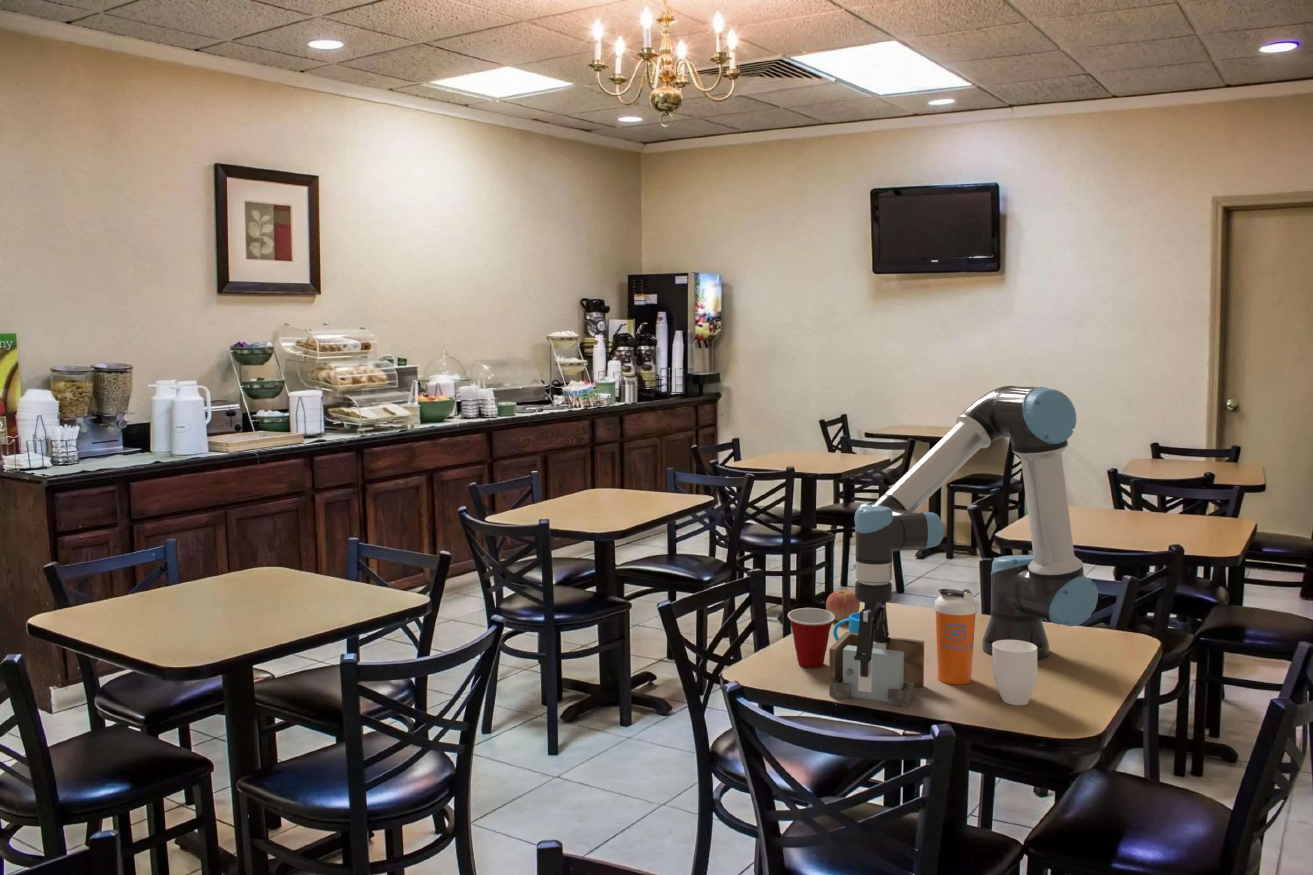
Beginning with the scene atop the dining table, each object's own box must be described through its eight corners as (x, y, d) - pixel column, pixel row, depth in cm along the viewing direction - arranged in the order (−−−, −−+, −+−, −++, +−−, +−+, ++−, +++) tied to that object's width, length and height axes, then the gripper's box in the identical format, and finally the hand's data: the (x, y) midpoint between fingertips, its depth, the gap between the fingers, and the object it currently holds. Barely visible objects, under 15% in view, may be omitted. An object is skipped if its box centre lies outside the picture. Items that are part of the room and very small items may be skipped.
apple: (859, 625, 277) (860, 595, 276) (825, 624, 278) (825, 594, 278) (859, 616, 285) (859, 587, 285) (826, 615, 287) (826, 586, 286)
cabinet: (923, 685, 229) (924, 640, 228) (910, 707, 216) (910, 659, 215) (845, 675, 236) (845, 632, 235) (827, 696, 223) (828, 649, 222)
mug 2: (1042, 708, 214) (1042, 651, 213) (997, 709, 215) (997, 651, 214) (1028, 689, 226) (1027, 634, 224) (985, 689, 226) (985, 635, 225)
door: (903, 698, 222) (903, 651, 221) (898, 704, 218) (899, 657, 217) (846, 690, 227) (847, 645, 226) (841, 697, 223) (841, 650, 222)
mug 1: (883, 646, 258) (884, 613, 258) (882, 655, 251) (882, 622, 250) (834, 643, 261) (834, 610, 261) (831, 652, 253) (831, 619, 253)
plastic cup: (790, 672, 239) (790, 620, 238) (784, 657, 250) (784, 607, 249) (838, 671, 239) (838, 619, 238) (830, 657, 250) (831, 607, 249)
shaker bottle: (929, 672, 237) (930, 585, 236) (969, 672, 237) (971, 585, 235) (938, 686, 229) (940, 595, 227) (980, 686, 228) (982, 595, 226)
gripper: (869, 567, 233) (868, 662, 235) (840, 592, 211) (839, 697, 213) (903, 570, 230) (902, 666, 232) (878, 595, 207) (876, 702, 210)
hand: (872, 681), depth 222 cm, fingers open, 12 cm apart
